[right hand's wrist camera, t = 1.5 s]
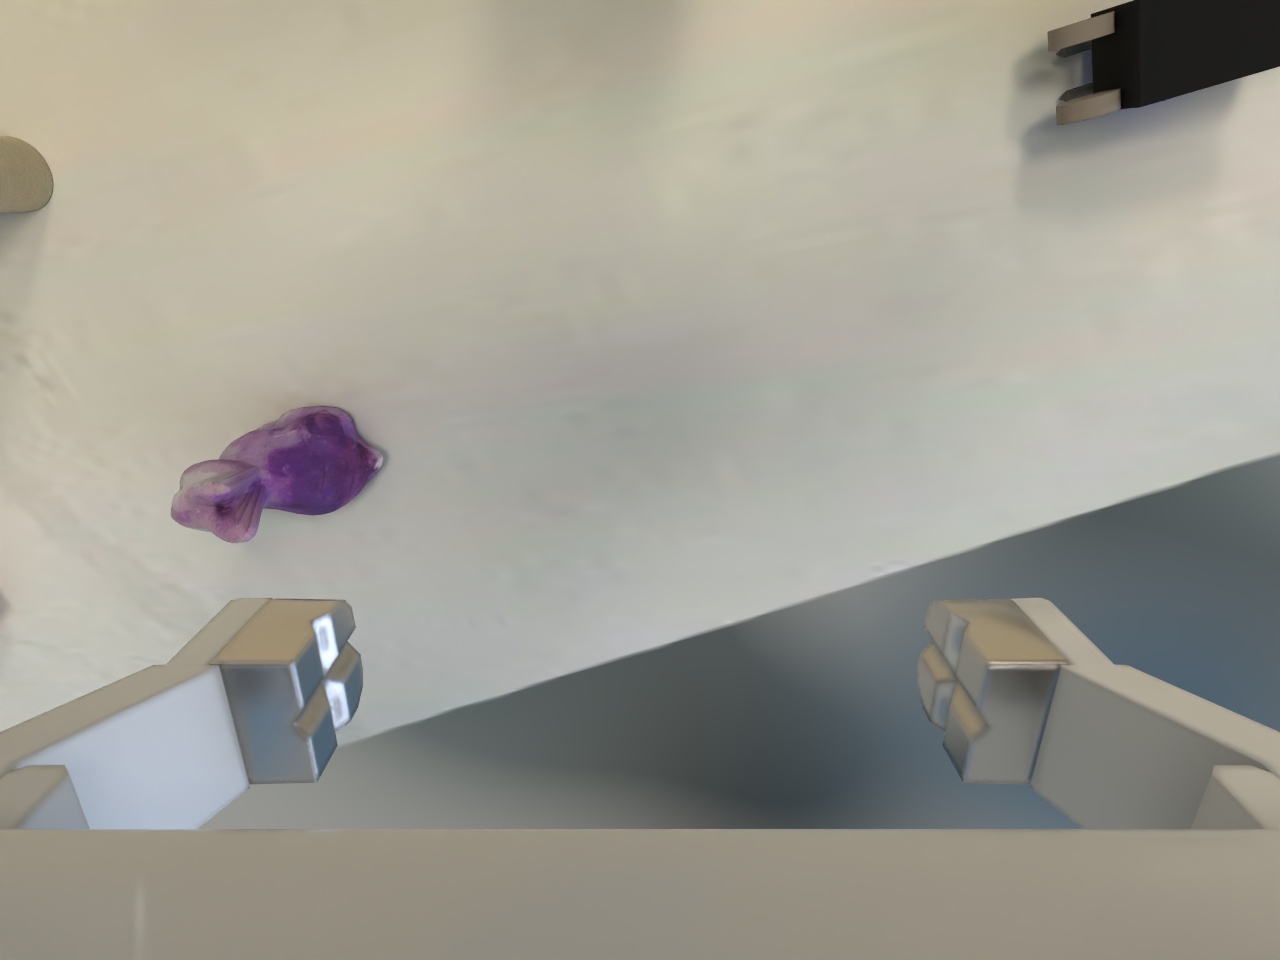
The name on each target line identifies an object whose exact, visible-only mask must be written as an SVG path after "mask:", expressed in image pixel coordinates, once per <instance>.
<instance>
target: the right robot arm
mask: <svg viewBox="0 0 1280 960" xmlns="http://www.w3.org/2000/svg"><path fill="white" fill-rule="evenodd" d="M355 628H356V626H355V621H354V617H353V612H352V607H351V606H350V605H349V604H348V603H347V602H346V601H345V600H321V599H272V598H248V599H236V600H231V601H230V602H229V603H228V604H227V605H226V606H225V607H224V608H223V609H222V610H221V611H220V612H219V613H218V614H217V615H216V616H215V617H214V618H213V619H212V620H211V621H210V622H209V623H208V624H207V625H206V626H205V627H204V628H203V629H202V630H201V631H199V632H198V633H197V634H196V635H195V636H194V637H193V638H192V639H191V640H190V641H189V642H188V643H187V644H186V645H185V646H184V647H183V648H182V649H181V650H180V651H179V652H178V653H177V654H176V655H175V656H174V657H173V658H172V659H171V660H170V661H169V662H168V663H167V664H166V665H153V666H150V667H148V668H146V669H144V670H141V671H139V672H137V673H134V674H132V675H130V676H128V677H125V678H123V679H121V680H118V681H116V682H114V683H112V684H109V685H107V686H105V687H102V688H100V689H98V690H96V691H93V692H91V693H89V694H86V695H84V696H82V697H80V698H77V699H75V700H73V701H71V702H68V703H66V704H64V705H61V706H59V707H57V708H55V709H52V710H50V711H48V712H45V713H43V714H41V715H39V716H36V717H34V718H32V719H29V720H27V721H25V722H23V723H20V724H18V725H16V726H13V727H11V728H9V729H7V730H4V731H2V732H0V960H1280V732H1277V731H1275V730H1273V729H1271V728H1268V727H1266V726H1264V725H1262V724H1259V723H1257V722H1255V721H1252V720H1250V719H1248V718H1246V717H1243V716H1241V715H1239V714H1237V713H1234V712H1232V711H1230V710H1227V709H1225V708H1223V707H1221V706H1218V705H1216V704H1214V703H1212V702H1209V701H1207V700H1205V699H1202V698H1200V697H1198V696H1196V695H1193V694H1191V693H1189V692H1186V691H1184V690H1182V689H1180V688H1177V687H1175V686H1173V685H1171V684H1168V683H1166V682H1164V681H1161V680H1159V679H1157V678H1155V677H1152V676H1150V675H1148V674H1146V673H1143V672H1141V671H1139V670H1136V669H1134V668H1132V667H1130V666H1127V665H1114V664H1113V663H1112V662H1111V661H1110V660H1109V659H1108V658H1107V657H1106V656H1105V655H1104V654H1103V653H1102V652H1101V651H1100V650H1099V649H1098V648H1097V647H1096V646H1095V645H1094V644H1093V643H1092V642H1091V641H1090V640H1089V639H1088V638H1087V637H1086V636H1085V635H1084V634H1083V633H1082V632H1081V631H1080V630H1079V629H1078V628H1077V627H1076V626H1075V625H1074V624H1073V623H1072V622H1071V621H1070V620H1068V618H1066V617H1065V616H1064V615H1063V614H1062V613H1061V612H1060V611H1059V610H1058V609H1057V608H1056V607H1055V606H1054V605H1053V604H1052V603H1051V602H1050V601H1048V600H1045V599H1042V598H1024V599H990V600H949V601H932V603H931V605H930V607H929V609H928V611H927V615H926V621H925V626H924V628H925V629H926V631H927V632H928V634H929V636H930V637H931V639H932V640H933V641H932V642H931V643H930V644H929V646H927V647H926V649H925V650H924V651H923V652H922V653H921V654H920V656H919V663H918V671H917V681H918V693H919V697H920V701H921V704H922V707H923V710H924V712H925V714H926V716H927V717H928V719H929V721H930V722H931V723H932V724H934V725H935V726H937V727H938V728H940V729H941V730H943V731H945V735H944V740H943V747H944V749H945V751H946V752H947V754H948V756H949V758H950V760H951V761H952V763H953V765H954V767H955V769H956V770H957V772H958V774H959V776H960V778H961V779H962V781H963V782H964V783H1001V784H1030V788H1031V789H1033V790H1034V791H1035V792H1036V793H1038V794H1039V795H1040V796H1042V797H1043V798H1044V799H1045V800H1047V801H1048V802H1049V803H1051V804H1052V805H1053V806H1054V807H1056V808H1057V809H1058V810H1060V811H1061V812H1062V813H1063V814H1065V815H1066V816H1067V817H1069V818H1070V819H1071V820H1072V821H1074V822H1075V823H1076V824H1077V825H1079V826H1080V827H1081V828H1083V829H198V828H199V827H200V826H201V825H203V824H204V823H205V822H207V821H208V820H209V819H210V818H212V817H213V816H214V815H216V814H217V813H218V812H219V811H221V810H222V809H223V808H225V807H226V806H227V805H228V804H230V803H231V802H232V801H234V800H235V799H236V798H237V797H239V796H240V795H241V794H243V793H244V792H245V791H246V790H248V789H249V788H250V784H278V783H313V782H317V781H318V780H319V778H320V776H321V774H322V772H323V770H324V769H325V767H326V765H327V763H328V761H329V760H330V758H331V756H332V754H333V752H334V751H335V749H336V747H337V740H336V735H335V731H337V730H339V729H340V728H342V727H343V726H345V725H346V724H348V723H349V722H350V721H351V719H352V717H353V715H354V714H355V712H356V710H357V708H358V704H359V700H360V696H361V691H362V687H363V668H362V662H361V655H360V654H359V653H358V652H357V651H356V650H355V649H354V647H353V646H352V645H351V644H350V643H349V642H348V641H347V640H348V639H349V637H350V636H351V634H352V632H353V631H354V629H355Z"/></svg>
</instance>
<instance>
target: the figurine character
mask: <svg viewBox="0 0 1280 960" xmlns="http://www.w3.org/2000/svg"><path fill="white" fill-rule="evenodd" d="M1048 48H1049V52H1051V51H1055V50H1058V49H1060V51H1059V52H1058V53H1057V54H1056V55H1059V56H1061V57H1063V58H1065V57H1068V56H1071V55H1074V54H1077V53H1080V52H1083V51H1086V50H1089V49H1092V70H1093V83H1089V84H1086V85H1083V86H1080V87H1077V88H1074V89H1071V90H1068V91H1066V92H1065V93H1064V94H1063V95H1062V96H1061V98H1060V99H1061V100H1064V101H1066V102H1063V103H1060V104H1058V105H1056V116H1057V125H1064V124H1069V123H1074V122H1079V121H1083V120H1087V119H1091V118H1095V117H1098V116H1102V115H1105V114H1108V113H1112V112H1114V111H1117V110H1119V109H1126V108H1138V107H1142V106H1146V105H1149V104H1153V103H1156V102H1160V101H1165V100H1166V99H1170V98H1173V97H1177V96H1180V95H1183V94H1187V93H1190V92H1194V91H1197V90H1201V89H1204V88H1207V87H1211V86H1214V85H1218V84H1221V83H1224V82H1228V81H1231V80H1235V79H1238V78H1241V77H1245V76H1248V75H1252V74H1255V73H1259V72H1262V71H1265V70H1269V69H1272V68H1276V67H1279V66H1280V0H1134V1H1131V2H1128V3H1125V4H1121V5H1118V6H1115V7H1112V8H1109V9H1106V10H1103V11H1099V12H1096V13H1093V14H1091V18H1090V19H1087V20H1084V21H1081V22H1077V23H1074V24H1071V25H1068V26H1065V27H1061V28H1058V29H1055V30H1052V31H1049V32H1048Z"/></svg>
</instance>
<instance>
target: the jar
mask: <svg viewBox="0 0 1280 960" xmlns="http://www.w3.org/2000/svg"><path fill="white" fill-rule="evenodd" d="M52 190H53V180H52V175H51V172H50V169H49V167H48V165H47V163H46V162H45V160H44V159H43V157H42V156H41V155H40V154H39V153H38V152H37V151H36V150H35V149H34V148H33V147H32V146H30V145H29V144H27V143H26V142H24V141H22V140H19V139H17V138H13V137H5V136H0V212H29V211H35V210H38V209H40V208H42V207H43V206H44V205H46V203H47V202H48V201H49V199H50V197H51V195H52Z"/></svg>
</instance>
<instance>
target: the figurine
mask: <svg viewBox="0 0 1280 960" xmlns="http://www.w3.org/2000/svg"><path fill="white" fill-rule="evenodd" d="M382 464H383V457H382V455H381V453H380V452H379V451H378V450H376V449H374V448H373V447H371V446H370V445H368V444H367V443H365V442H364V441H362V439H361V438H360V437H359V435H358V433H357V431H356V430H355V427H354V424H353V421H352V418H351V417H350V415H349V414H347V413H346V412H345V411H343V410H341V409H338V408H335V407H326V406H321V407H304V408H298V409H294V410H291V411H289V412H287V413H285V414H283V415H282V416H281V417H280V418H279V420H278V421H276V422H272V423H269V424H265V425H263V426H261V427H260V428H259V429H258V430H255V431H252V432H249V433H247V434H245V435H243V436H242V437H240V438H238V439H237V440H235V441H233V442H232V443H231V444H230V445H229V446H228V447H227V448H226V449H225V450H224V452H223V453H222V454H221V456H220V458H219V460H208V461H204V462H200V463H197V464H194V465H192V466H191V467H189V468H188V469H186V470H185V471H184V473H183V474H182V476H181V479H180V490H179V491H178V492H177V493H176V494H175V495H174V497H173V501H172V508H171V517H172V518H173V519H174V520H175V521H176V522H178V523H179V524H181V525H183V526H185V527H188V528H192V529H196V530H202V531H208V532H212V533H213V534H215V535H216V536H217V537H219V538H221V539H223V540H225V541H227V542H231V543H243V542H246V541H249V540H250V539H251V538H253V537H254V536H255V534H256V532H257V529H258V525H259V521H260V516H261V512H262V509H263V508H268V509H278V510H283V511H288V512H292V513H296V514H305V515H321V514H326V513H330V512H333V511H335V510H337V509H339V508H341V507H342V506H344V505H345V504H347V503H348V502H349V501H351V500H352V499H353V498H354V497H355V496H356V495H357V494H358V493H359V492H360V491H361V490H362V488H363V487H364V486H365V484H366V483H367V482H368V481H369V480H370V479H371V478H372V477H373V476H374V475H375V473H376V472H377V471H378V470H379V469H380V468H381V466H382Z"/></svg>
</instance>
